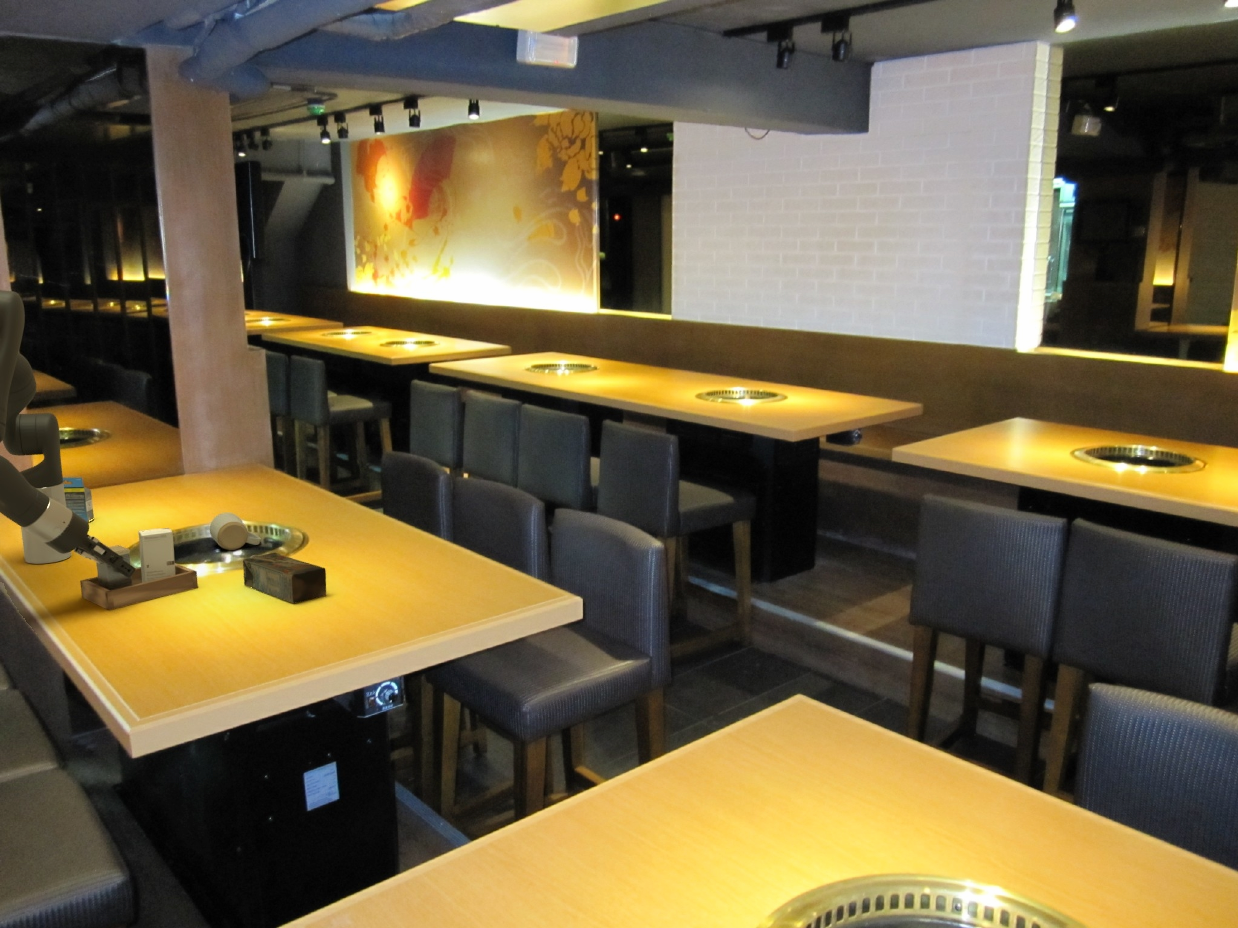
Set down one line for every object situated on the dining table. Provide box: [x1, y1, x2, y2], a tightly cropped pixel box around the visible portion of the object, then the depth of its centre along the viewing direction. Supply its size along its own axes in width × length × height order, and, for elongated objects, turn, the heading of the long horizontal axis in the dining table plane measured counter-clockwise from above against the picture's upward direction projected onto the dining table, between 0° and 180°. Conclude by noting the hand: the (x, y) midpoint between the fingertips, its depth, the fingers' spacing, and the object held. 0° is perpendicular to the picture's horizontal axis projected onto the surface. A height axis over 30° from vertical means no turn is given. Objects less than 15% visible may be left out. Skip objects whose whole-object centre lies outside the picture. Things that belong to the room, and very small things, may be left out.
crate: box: [79, 563, 199, 611], centre depth 203 cm, size 12×18×4 cm, turn 141°
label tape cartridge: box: [63, 476, 95, 522], centre depth 258 cm, size 9×4×12 cm, turn 92°
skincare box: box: [138, 527, 175, 583], centre depth 205 cm, size 6×4×12 cm
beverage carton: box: [242, 552, 327, 605], centre depth 204 cm, size 8×19×7 cm, turn 50°
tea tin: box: [95, 544, 132, 590], centre depth 199 cm, size 5×5×10 cm
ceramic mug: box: [209, 512, 262, 551], centre depth 237 cm, size 11×8×8 cm
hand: (122, 569), depth 200 cm, fingers open, 8 cm apart
